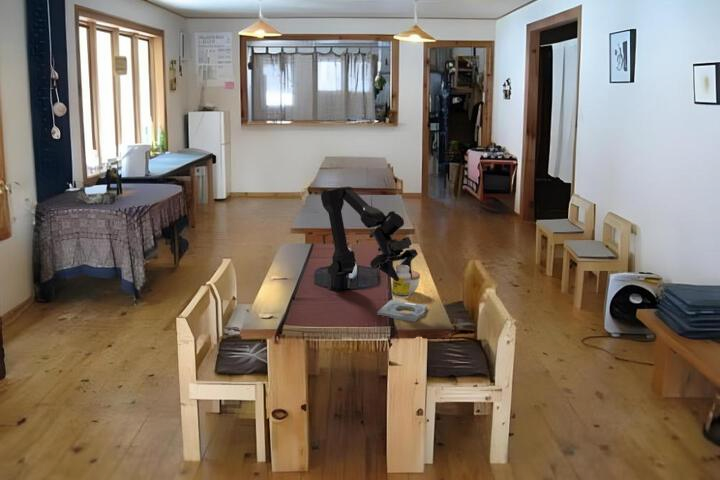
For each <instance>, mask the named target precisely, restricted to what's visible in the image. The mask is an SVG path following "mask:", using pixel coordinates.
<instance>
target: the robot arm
mask: <svg viewBox="0 0 720 480" xmlns="http://www.w3.org/2000/svg"><path fill="white" fill-rule="evenodd" d="M320 199H321V203H322V206H323V209H324V210H325V211H326V212H327V213H328V218H329V219H328V220H329V224H330V228H331V235H332V240H333V241H332V242H333V246H334V252H333V254H332V257H331V258H332V263H331V264H330V265H329V266H328V267H327V274H329V275H331V276H330V279H331V280H330V287H329V288H328V290H330V291H338V292H343V293H344V292H346V291H347V290H346V289H348V288H349V289H350V288H351V287H350V285H351V277H350V275H351V274H353V272H354V269H355V267H356V262H357V260H356V257H355V251H353V250H350V248H349V247H348V242H347V237H346V231H345V225H344V220H343V219H344V218H343V214H342V210H343V208H344V205H345V202H346V203H347V204H348V205H349V206H350V207H351V208H352V210H354V211H355V212H356V213H357V214H358V215H359V216H360V221H361V223H363V225H364V227H366V228H367V229H371V228H372V229H373V228H375V229H373V230H370V233H369V238H370V239H374V240H375V241H376V243H377V245H378V248H377V251H378V252H381V254H377V255H376V256H375V257H374V258H372V259H371V261H370V263H369V264H370V268H371V269H372V270H376V269H378V270H379V271H381V272H383V273H384V274H386V275H388V276H389V277H391V278H392V280H393V279H394V280H395V281H398V280H399V278H398V276H397V274H396V268H395V267H394V262H396V261H399V262H400V264H399V265H407V266H409V267H410V269H409V273H410V274H411V278H412V271H413V270H412V261H413V259H416V258H417V256H418V255H419V253H418V252H417V250H416V249H415V248H411V249H410V246H412V240H411V238H410V237H409V236H406V237H402V240H397V239H394V238H393V236H394V235H395V234H396V233H397V232H398V231H400V229H401V228H402V227H403V226H404V225H405V221H404V218H403V217H402V216H401V215H400V214H398V213H396V211H394V210H393V211H391V210H390V211H389V212H388V213H387V215H386V214H385V213H384V212H383V211H382V210H381V209H378V208H376V207H374V206H371V205H369V204H368V202H366V201H365V200H364V199H363V198H362V197H361V196H360V195H358V194H357V192H356V191H354V189H353V187H352V186H340V187H338V188H335V189H333V188H332V189H324V190H323V191H322V192H321V194H320ZM344 201H345V202H344ZM405 249H406V250H405ZM404 250H405V251H404ZM411 270H412V271H411ZM349 289H348V290H349Z"/></svg>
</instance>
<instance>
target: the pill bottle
mask: <svg viewBox="0 0 720 480" xmlns="http://www.w3.org/2000/svg"><path fill="white" fill-rule="evenodd" d="M409 269H410V267H409V266H407V265H400V264H397V265H396V267H395V271H396V270H397V271H396V274H397V276H398V278H399V280H398V281H395V280H394V279H393V278H392V288H391V296H392V297H394V298H395V299H404V300H405V299H408V298H409V296H410V295H409V291H410V281H411V274H410V273H409Z"/></svg>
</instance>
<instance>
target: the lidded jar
mask: <svg viewBox="0 0 720 480" xmlns="http://www.w3.org/2000/svg"><path fill="white" fill-rule="evenodd" d="M395 271H397V270H396V269H395ZM411 271H412V278H411V281H410V291H409V296H410V295H412V294H413V293H414V292H415V291H416V290H417V289H418V287H419V284H420V279H421V278H420V277H421V274H420V272H418V271H415V270H412V269H411Z"/></svg>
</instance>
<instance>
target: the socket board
mask: <svg viewBox="0 0 720 480" xmlns="http://www.w3.org/2000/svg"><path fill="white" fill-rule="evenodd" d="M398 310H409V311H412V312H403V311H398ZM426 310H428V305H426V304H420V303H414V302H407V301H401V300H398V299H390V300H389V301H388V302H387V303H386V304H384V306H382V307H381V308H380V309H379V310H378V311H377V313H376V315H377V314H378V315H385V316H389V317H390V318H391V319H396V320H402V321H408V322H414V323H416V321H418V319H419V318H423V316H424V315H425V314H426V313H425V312H426ZM378 315H377V316H378ZM389 317H388V318H389ZM390 318H389V319H390Z"/></svg>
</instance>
